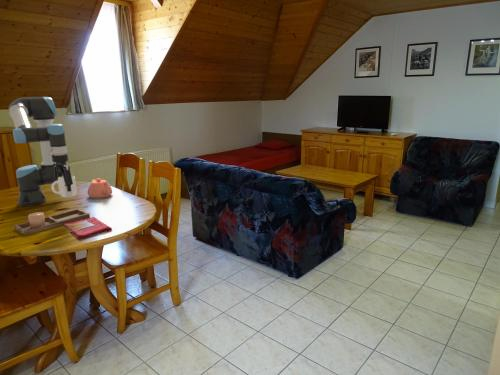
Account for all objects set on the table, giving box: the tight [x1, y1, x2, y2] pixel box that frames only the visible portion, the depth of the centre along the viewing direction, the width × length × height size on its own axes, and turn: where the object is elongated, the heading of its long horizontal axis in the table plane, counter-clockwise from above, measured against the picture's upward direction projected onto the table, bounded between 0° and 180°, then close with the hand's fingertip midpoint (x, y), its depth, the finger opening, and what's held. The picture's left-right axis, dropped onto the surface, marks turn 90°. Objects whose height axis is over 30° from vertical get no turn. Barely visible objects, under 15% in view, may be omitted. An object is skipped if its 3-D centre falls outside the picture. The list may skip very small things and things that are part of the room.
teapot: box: [87, 177, 113, 200], centre depth 240 cm, size 22×15×12 cm
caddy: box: [14, 208, 91, 236], centre depth 193 cm, size 13×33×3 cm, turn 141°
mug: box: [50, 174, 78, 198], centre depth 195 cm, size 12×8×10 cm
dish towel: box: [63, 216, 113, 240], centre depth 188 cm, size 17×24×3 cm
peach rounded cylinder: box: [27, 211, 46, 229], centre depth 187 cm, size 7×7×7 cm
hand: (65, 195), depth 196 cm, fingers closed on mug, 8 cm apart
